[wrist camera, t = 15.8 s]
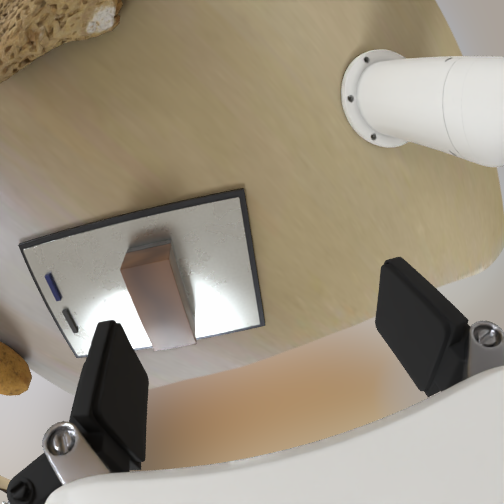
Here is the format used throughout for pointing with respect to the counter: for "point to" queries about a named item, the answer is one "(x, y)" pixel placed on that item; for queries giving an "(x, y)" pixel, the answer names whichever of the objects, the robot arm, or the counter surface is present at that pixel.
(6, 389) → the potato
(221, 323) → the whiteboard
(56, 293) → the stroke navy
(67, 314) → the bar
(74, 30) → the sponge
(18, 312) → the counter surface
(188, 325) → the eraser
